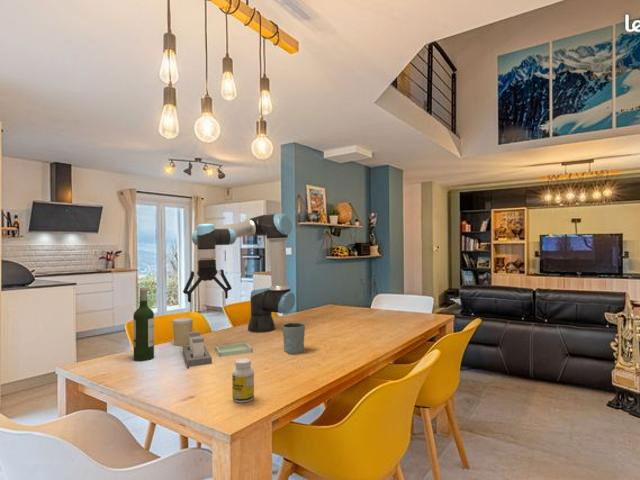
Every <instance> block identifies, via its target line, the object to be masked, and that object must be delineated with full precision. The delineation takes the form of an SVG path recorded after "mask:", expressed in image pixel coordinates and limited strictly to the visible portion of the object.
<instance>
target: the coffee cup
mask: <svg viewBox="0 0 640 480" xmlns="http://www.w3.org/2000/svg"><path fill="white" fill-rule="evenodd" d="M193 321H194V320H193V318H192V317H179V318H174V319H173V320H172V329H173V330H172V334H173V343H174V346H175V347H183V346H189V332H191V331H193Z"/></svg>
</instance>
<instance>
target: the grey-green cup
mask: <svg viewBox="0 0 640 480" xmlns="http://www.w3.org/2000/svg"><path fill="white" fill-rule="evenodd" d="M281 327H282V329H281V330H282V337H283V352H284V353H285V354H287V355H290V356H291V355H293V356H295V355H301V354H303V353H304V351H305V344H304V343H305V342H304V341H305V333H306V332H305V330H306V324H305V323H303V322H287V323H286V322H285V323H283V324H282V326H281Z"/></svg>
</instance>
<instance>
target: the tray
mask: <svg viewBox="0 0 640 480" xmlns="http://www.w3.org/2000/svg"><path fill="white" fill-rule="evenodd" d="M214 350H215V352H216V354H217V355H218V356H219V357H220V358H223V357H230V356H231V357H232V356H235V355H244V354H252V353H253V348H252V346H250V344H248V343H247V342H246V341H245V342H239V343H237V342H236V343H230V344H223V345H215V346H214Z"/></svg>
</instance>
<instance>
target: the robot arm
mask: <svg viewBox="0 0 640 480" xmlns="http://www.w3.org/2000/svg"><path fill="white" fill-rule="evenodd" d="M292 230H293V225H292V220H291V218H290V217H289V216H288V215H287V214H284V213H272V214H262V215H258V216H253V217H250V218H247V219H245V220H243V221H242V222H241V221H240V222H236V223H232V224H226V225H221V226H215V224H214V223H198V225H197V226H196V230H195V231H193V232H192V234H191V241H192V243H193V244H194V245H195V246H197V247H196V248H197V259H198V260H197V271H193V270H191V271H190V274H189V278H188V280H187V282H186V284H185V286H184V288H183V291H182V292H183V294H184V295H187V302H188V303H190V310H191V311H194V294H193V292H194V291H195V290H196V288H197V287H198V286H199V284H200V283H201V282H202V281H203V282H206V281H212V280H214V281H215V283H216V284H217V285H218V286H219V287H220V288H221V289H222V290H223V291H221V292H222V293H221V295H222V296H221V297H222V307H224V308H225V307H226V299H228V297H229V296H228V295H229V294H228V293H229V291H230V290H231V291H232V289H233V288H232V285H231V284H230V282H229V281H228V279H227V277H226V275H225V271H224V269H222V268H220V269H217V260H216V258H217V257H216V255H217V253H216V246H229V245H233V244H235V242H236V241H237V239H238V238H242V237H253V236H256V237H257V236H263V237H264V236H265V237H266V240H267V241H268V243H269V257H270V259H269V260H270V280H271V281H270V282H271V286H270V287H265V288H258V289H253V290H251V292H250V318H249V322H248V325H247V331H248V332H250V333H266V332H273V331H274V330H275V329H276V326H275V325H276V324H275V321H274V318H273V314H272V313H278V314H288V313H290V312H291V311H292V310H293V308H294V307H295V304H296V297H295V296H296V295H295V294H294V292H292V291H291V286H289V285H288V272H287V270H288V268H287V251H286V247H287V246H286V241H287V240H288V239H289V237H288V236H289V235H290V234H291V232H292ZM217 274H218V275H220V277H221V278H222V280H223V282H224V284H225V285H224V284H223V283H222V282H221V281H220V280H219V279H218V278H217V276H216V275H217ZM196 276H198V278H197V280H196V281H195V282H194V283H193V284H192V282H193V279H194V278H195V277H196ZM191 284H192V286H191ZM190 286H191V287H190Z"/></svg>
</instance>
